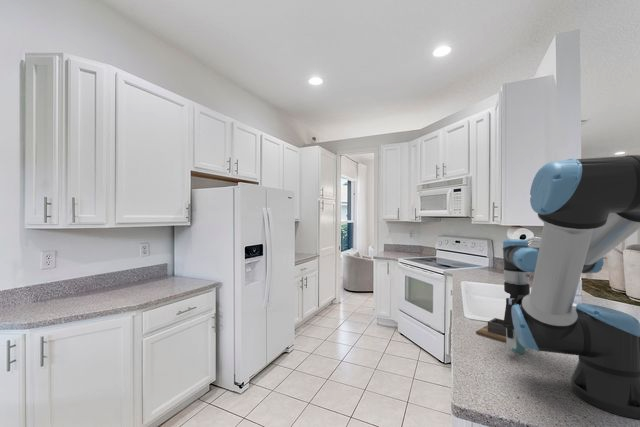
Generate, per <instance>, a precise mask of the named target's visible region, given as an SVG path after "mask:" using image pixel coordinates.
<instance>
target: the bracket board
mask: <svg viewBox="0 0 640 427" xmlns="http://www.w3.org/2000/svg"><path fill="white" fill-rule="evenodd" d="M503 323H504V319H501V318H497V317H494V318H492V319H490V320H489V321H487V324H486V325H485V326H483V327H481V328H479V329H478V330H476V331H475V335H477V334H478V335H477V336H481V337H484V338H488V339H491V340H495V341H498V342H500V343H504V344H506V327H503Z"/></svg>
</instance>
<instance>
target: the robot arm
mask: <svg viewBox="0 0 640 427" xmlns="http://www.w3.org/2000/svg"><path fill="white" fill-rule="evenodd" d="M529 194H530V198H529V203H530V206H531V209H532V210H533V212H535V213H536V214H537V217H538V219H539V220H540V221H541V222H543V226H542V227H543V228H542V231H541V232H542V233H541V237H540V243H539V247H532V246H531V247H530V246H529V242H528V240H527V239H526V240H525V239H520V238H519V239H518V238H517V239H512V238H511V239H510V238H507V239H504V240H503V242H502V256H503V261H502V262H503V280H504V283H503V286H504V288H503V290H504V292H505V293H507V294H509V297H506V299H505V311H504V316H503V317H504V318H503V320H504V323H503V327H506V343H505V344H506V347H509V348H510V349H512V348H515V349H516V336H517V339H518V341H519V343H520V344H521V345H522V346H523V347H525V348H526V349H527V350H532V351H533V350H534V351H537V352H547V353H554V354H561V355H562V354H563V355H569V356H570V355H572V356H578V360H577V361H578V362H577V364H576V367H575V369H574V372H572V376H571V377H570V388H571V391H572V392H573V393H574V394H575V395H576V396H577V397H579V399H582V400H583V401H584V402H587V403H588V404H590V405H591V406H594V407H596V408H598V409H601V410H603V411H606V412H608V413H612V414H614V415H618V416H622V417H626V418H631V419H636V418H640V321H639V320H638V319H637V317H635V316H633V315H631V314H629V313H626V312H623V311H620V310H617V309H613V308H610V307H605V306H601V305H596V304H591V303H585V302H584V303H576V304H577V306H576V310H575V309H574V307H572V305H573V303H575V298H576V293H577V290H578V287H579V283H580V279H581V277H582V274H596V273H599V272H601V270H602V269H603V266H604V258H603V257H605V256H606V255H607V254H608V253H609V252H611V251H612V250H613V249H615V248H616V247H618V246H619V245H620V244H621V243H623V242H624V241H625V240H627V239H629V237H630V236H632V235H634V234H635V233H636V232H637V231H638V230H640V154H629V155H628V154H627V155H623V156H606V157H590V158H588V157H587V158H568V159H564V160H556V161H555V160H554V161H550V162H547V163H546V164H543V165H542V166H541V167H540V168H539V169H538V171H537V172H536V173H535V175H534V177H533V180H532V183H531V186H530V193H529ZM530 273H533V274H534V275H533V279H532V284H531V286H530V278H531V277H532V275H531V274H530Z"/></svg>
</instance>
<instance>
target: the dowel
mask: <svg viewBox="0 0 640 427" xmlns="http://www.w3.org/2000/svg"><path fill="white" fill-rule="evenodd" d="M526 349H527V348H525V347H523V346H522V345H521V344H520V343H519V341H518V339H517V336H516V349H515V348H511V350H512V351H513V353H517V354H521V355H524V354H526V353H527V352H526Z"/></svg>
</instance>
